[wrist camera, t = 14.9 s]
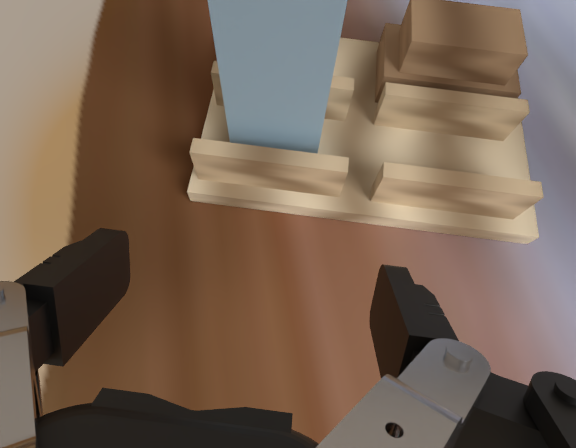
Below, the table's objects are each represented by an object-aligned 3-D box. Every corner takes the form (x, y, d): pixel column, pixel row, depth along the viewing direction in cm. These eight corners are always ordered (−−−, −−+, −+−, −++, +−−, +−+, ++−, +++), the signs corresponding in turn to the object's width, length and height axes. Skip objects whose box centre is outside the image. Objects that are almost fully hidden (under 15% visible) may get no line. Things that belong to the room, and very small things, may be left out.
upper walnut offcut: (499, 42, 27) (519, 9, 25) (504, 85, 26) (527, 55, 23) (399, 29, 27) (411, -4, 25) (399, 72, 26) (411, 40, 23)
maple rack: (503, 70, 31) (536, 25, 27) (527, 244, 25) (573, 216, 21) (231, 36, 32) (226, -13, 28) (190, 200, 25) (176, 166, 22)
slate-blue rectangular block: (318, 133, 27) (357, -79, 15) (315, 164, 26) (354, -37, 14) (238, 123, 27) (212, -96, 15) (232, 154, 26) (198, -55, 14)
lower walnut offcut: (493, 66, 30) (512, 38, 27) (500, 118, 28) (521, 93, 25) (376, 51, 30) (385, 22, 28) (374, 102, 28) (384, 76, 26)
